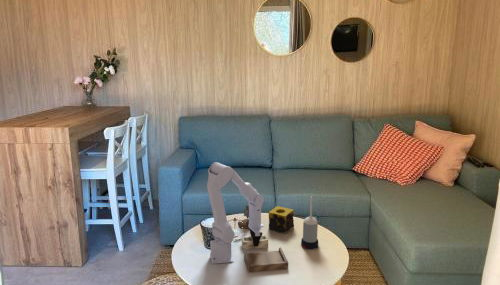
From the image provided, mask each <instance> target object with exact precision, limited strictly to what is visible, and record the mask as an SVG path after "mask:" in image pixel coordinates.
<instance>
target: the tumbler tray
mask: <svg viewBox="0 0 500 285" xmlns="http://www.w3.org/2000/svg"><path fill="white" fill-rule="evenodd" d="M241 247H242V250H251V249H252V250H253V248H255V249H264V247H267V248H269V238H268V236H267V235H266V234H264V235H263V234H262V236H261V238H260V241H259V245H258V246H254V245H253V239H252V236H251V235H250V236H241Z"/></svg>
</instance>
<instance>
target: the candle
mask: <svg viewBox="0 0 500 285" xmlns="http://www.w3.org/2000/svg"><path fill="white" fill-rule="evenodd" d="M294 211H295V209H292V208H288V207H284V206H278V205H277V206H275V207H274V208H273V209H271V210H270V211H269V212H268V230H270V231H273V232H276V233H280V234H283V235H284V234H287V233H288V232H290V231H291V229H292V228H294V227H295V224H294V223H295V222H294V221H295V220H294V213H295V212H294Z"/></svg>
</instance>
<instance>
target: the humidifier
mask: <svg viewBox="0 0 500 285" xmlns="http://www.w3.org/2000/svg"><path fill="white" fill-rule="evenodd" d="M309 203H310V206H309V207H310V208H309V216H307V217H306V218H304V220H303V223H302V237H301V242H300V243H301V244H300V246H301V247H302V248H303V249H305V250H316V249H317V248H319V239H318V226H319V224H318V220H317V219H316V218H315V217H314V216H313V196H312V195H311V196H310V201H309Z"/></svg>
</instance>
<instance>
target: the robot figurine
mask: <svg viewBox="0 0 500 285" xmlns="http://www.w3.org/2000/svg"><path fill="white" fill-rule="evenodd" d="M243 217H246V218H245V219H242V220H239V221H238V223H237V224H238V227H239V226H240V227H243V228H242V229H245V230H249V228H248V226H249V202H248V205H246V206H245V209H244V210H243ZM240 221H242V222H243V223H242V222H240ZM240 227H239V228H240Z"/></svg>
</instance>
